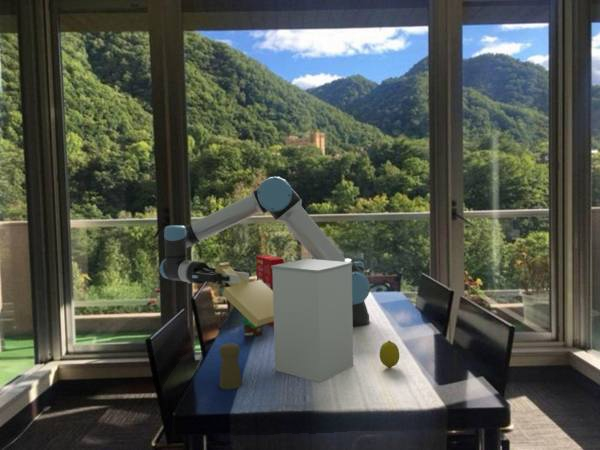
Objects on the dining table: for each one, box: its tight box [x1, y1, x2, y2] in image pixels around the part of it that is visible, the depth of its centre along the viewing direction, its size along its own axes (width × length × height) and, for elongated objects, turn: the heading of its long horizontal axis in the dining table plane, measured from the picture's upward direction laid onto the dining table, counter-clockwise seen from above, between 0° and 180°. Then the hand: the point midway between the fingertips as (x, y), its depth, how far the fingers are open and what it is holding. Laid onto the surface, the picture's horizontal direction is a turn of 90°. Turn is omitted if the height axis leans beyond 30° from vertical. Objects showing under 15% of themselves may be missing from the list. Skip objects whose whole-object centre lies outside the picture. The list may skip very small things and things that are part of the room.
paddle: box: [215, 261, 274, 327], centre depth 166 cm, size 27×16×3 cm
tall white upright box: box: [271, 258, 354, 383], centre depth 150 cm, size 16×16×30 cm
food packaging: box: [255, 254, 285, 327], centre depth 204 cm, size 15×5×25 cm, turn 26°
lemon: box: [379, 340, 400, 369], centre depth 149 cm, size 6×6×8 cm
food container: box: [242, 314, 264, 338], centre depth 187 cm, size 12×6×10 cm, turn 168°
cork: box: [219, 342, 243, 390], centre depth 139 cm, size 6×6×11 cm
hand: (243, 278), depth 166 cm, fingers closed on paddle, 4 cm apart
